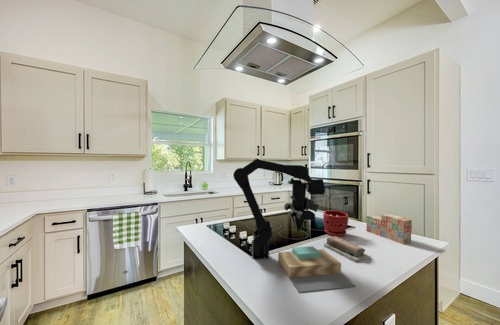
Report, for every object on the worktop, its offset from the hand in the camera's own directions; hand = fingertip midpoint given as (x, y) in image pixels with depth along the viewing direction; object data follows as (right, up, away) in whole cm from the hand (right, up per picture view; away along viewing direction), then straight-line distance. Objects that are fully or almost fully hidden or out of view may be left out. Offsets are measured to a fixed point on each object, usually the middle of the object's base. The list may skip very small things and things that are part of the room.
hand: (297, 230), depth 92 cm
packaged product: (+23, -12, +6) cm, 27 cm away
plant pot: (+28, -11, +29) cm, 42 cm away
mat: (+4, -12, -19) cm, 23 cm away
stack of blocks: (+56, -12, +27) cm, 63 cm away
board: (+2, -11, -10) cm, 15 cm away
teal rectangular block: (+1, -7, -8) cm, 11 cm away
